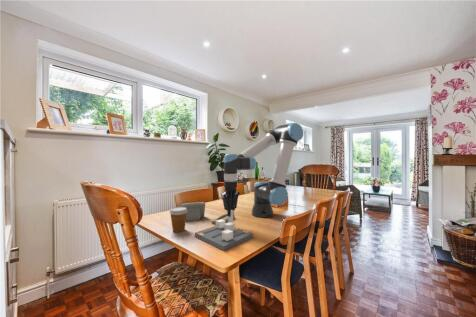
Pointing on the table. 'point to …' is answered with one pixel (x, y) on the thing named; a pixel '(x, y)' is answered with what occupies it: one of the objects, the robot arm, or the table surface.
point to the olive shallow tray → (223, 217)
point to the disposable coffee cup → (178, 218)
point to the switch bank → (215, 237)
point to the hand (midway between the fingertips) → (230, 221)
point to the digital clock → (194, 210)
